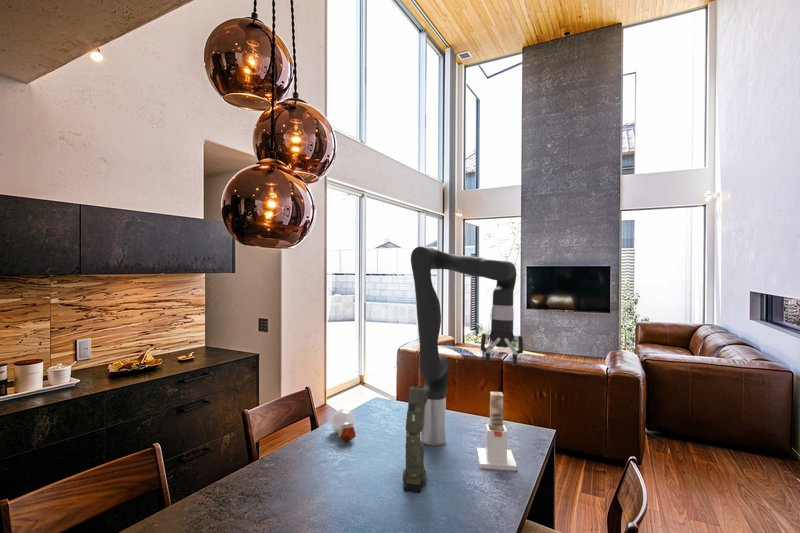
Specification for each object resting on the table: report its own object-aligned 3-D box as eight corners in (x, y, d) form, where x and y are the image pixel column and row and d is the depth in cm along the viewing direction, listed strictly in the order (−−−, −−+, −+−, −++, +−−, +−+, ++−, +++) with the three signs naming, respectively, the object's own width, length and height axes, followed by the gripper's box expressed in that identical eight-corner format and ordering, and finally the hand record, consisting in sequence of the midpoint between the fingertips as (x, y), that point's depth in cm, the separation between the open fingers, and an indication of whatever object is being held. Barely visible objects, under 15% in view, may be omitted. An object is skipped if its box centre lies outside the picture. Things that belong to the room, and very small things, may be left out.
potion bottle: (342, 430, 164) (350, 450, 150) (324, 419, 161) (330, 439, 147) (356, 412, 166) (365, 429, 151) (338, 400, 162) (345, 418, 148)
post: (490, 458, 135) (491, 395, 135) (489, 452, 139) (489, 391, 140) (503, 459, 135) (503, 395, 135) (501, 453, 139) (501, 392, 139)
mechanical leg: (421, 497, 113) (426, 388, 120) (397, 494, 114) (403, 386, 122) (427, 484, 126) (431, 386, 133) (405, 481, 127) (410, 384, 135)
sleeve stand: (479, 468, 132) (480, 433, 132) (476, 451, 144) (477, 420, 144) (516, 470, 131) (517, 435, 131) (510, 453, 142) (510, 421, 143)
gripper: (482, 318, 136) (480, 365, 136) (525, 320, 133) (523, 368, 133) (481, 315, 143) (479, 360, 143) (521, 317, 141) (520, 363, 141)
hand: (501, 364), depth 138 cm, fingers open, 8 cm apart
